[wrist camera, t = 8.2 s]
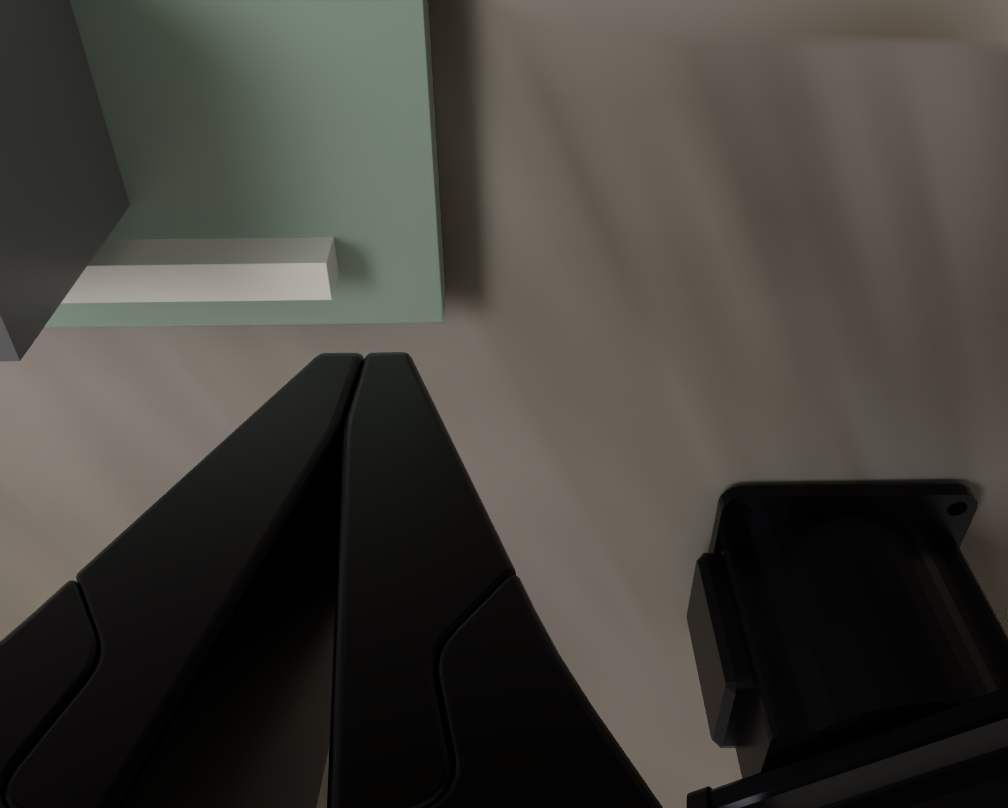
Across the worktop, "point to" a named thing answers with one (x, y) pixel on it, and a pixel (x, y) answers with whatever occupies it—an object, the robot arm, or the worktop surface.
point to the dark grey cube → (48, 167)
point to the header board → (265, 164)
